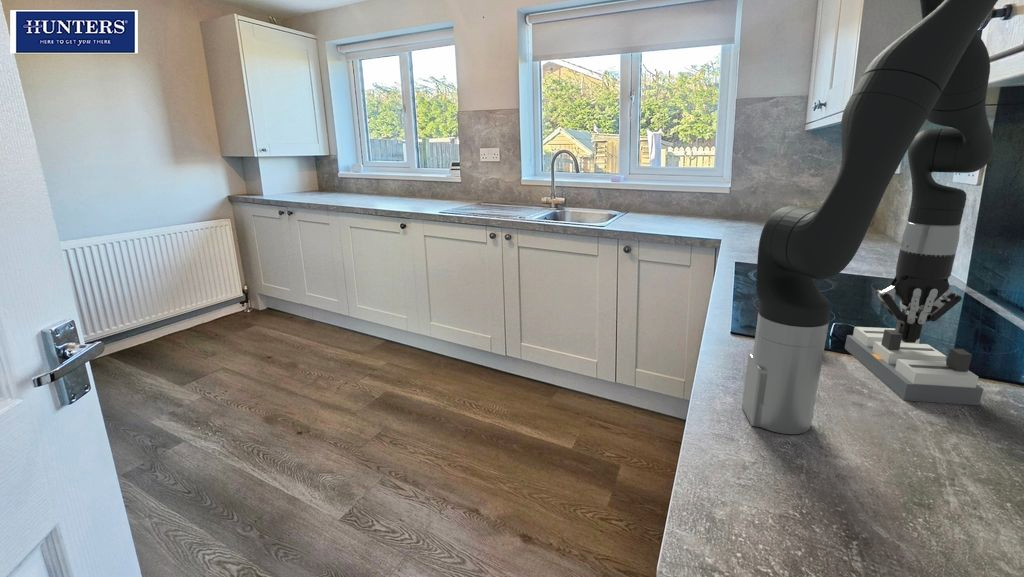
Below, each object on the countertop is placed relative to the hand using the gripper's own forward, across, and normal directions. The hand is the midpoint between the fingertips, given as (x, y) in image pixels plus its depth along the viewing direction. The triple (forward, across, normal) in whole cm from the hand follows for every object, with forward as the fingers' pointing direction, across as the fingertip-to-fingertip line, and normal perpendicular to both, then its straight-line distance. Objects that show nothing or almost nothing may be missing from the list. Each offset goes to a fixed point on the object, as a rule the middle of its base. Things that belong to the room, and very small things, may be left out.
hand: (907, 341), depth 90 cm
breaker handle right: (+2, +4, -8) cm, 9 cm away
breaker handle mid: (+2, -3, 0) cm, 3 cm away
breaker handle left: (+2, +4, +8) cm, 9 cm away
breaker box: (+6, 0, 0) cm, 7 cm away
